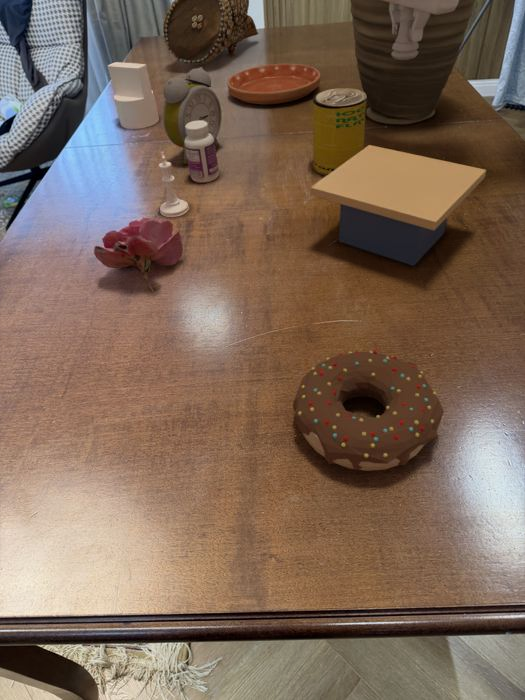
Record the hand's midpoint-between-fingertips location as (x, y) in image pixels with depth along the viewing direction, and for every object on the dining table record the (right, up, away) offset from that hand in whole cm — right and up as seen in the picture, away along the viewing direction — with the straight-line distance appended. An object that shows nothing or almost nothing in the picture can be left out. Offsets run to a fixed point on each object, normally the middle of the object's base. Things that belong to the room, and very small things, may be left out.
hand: (406, 37), depth 83 cm
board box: (-4, -35, -8) cm, 36 cm away
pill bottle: (-34, -19, +12) cm, 41 cm away
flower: (-41, -40, -9) cm, 58 cm away
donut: (-13, -59, -32) cm, 68 cm away
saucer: (-21, +13, +43) cm, 50 cm away
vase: (+6, 0, +27) cm, 28 cm away
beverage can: (-10, -17, +11) cm, 23 cm away
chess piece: (-39, -28, +3) cm, 48 cm away
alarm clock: (-37, -12, +20) cm, 44 cm away
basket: (-38, +40, +73) cm, 91 cm away
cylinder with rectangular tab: (-52, +2, +36) cm, 63 cm away
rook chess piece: (0, -2, +2) cm, 3 cm away
